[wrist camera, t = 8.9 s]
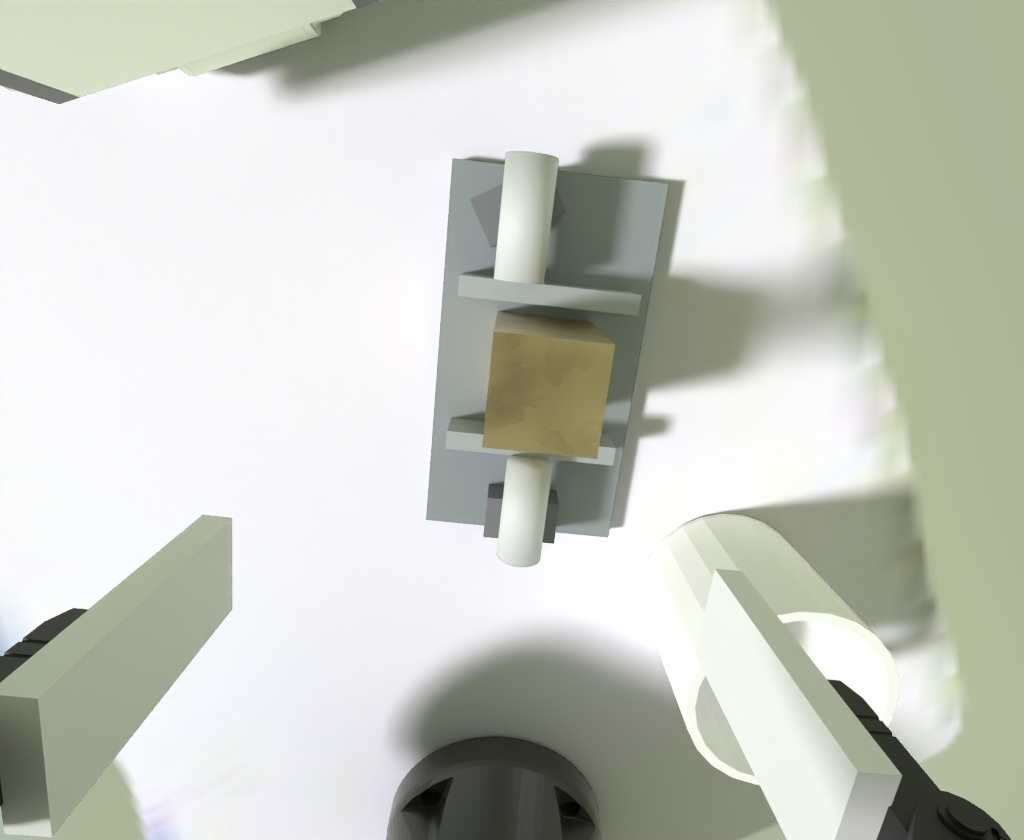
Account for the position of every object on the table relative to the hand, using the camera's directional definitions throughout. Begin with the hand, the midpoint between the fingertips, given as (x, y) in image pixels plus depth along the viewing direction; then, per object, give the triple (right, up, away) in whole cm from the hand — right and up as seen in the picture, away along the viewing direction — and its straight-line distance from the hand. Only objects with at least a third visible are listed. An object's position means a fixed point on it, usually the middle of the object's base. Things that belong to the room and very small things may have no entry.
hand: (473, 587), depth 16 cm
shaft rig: (+2, +8, +17) cm, 19 cm away
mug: (+15, -7, +22) cm, 27 cm away
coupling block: (+2, +8, +16) cm, 18 cm away
